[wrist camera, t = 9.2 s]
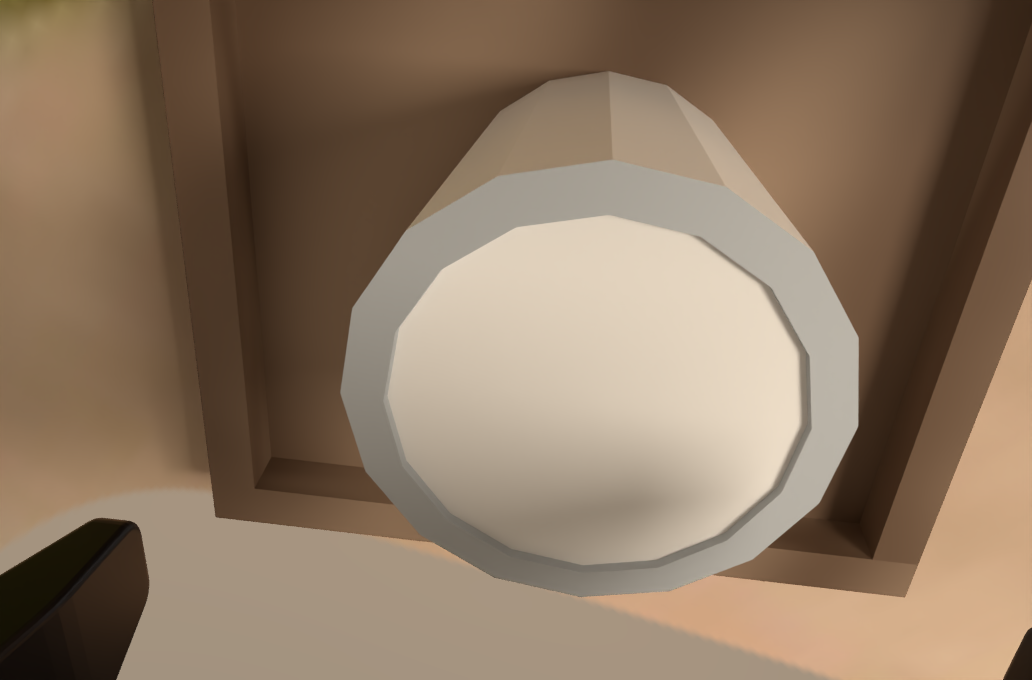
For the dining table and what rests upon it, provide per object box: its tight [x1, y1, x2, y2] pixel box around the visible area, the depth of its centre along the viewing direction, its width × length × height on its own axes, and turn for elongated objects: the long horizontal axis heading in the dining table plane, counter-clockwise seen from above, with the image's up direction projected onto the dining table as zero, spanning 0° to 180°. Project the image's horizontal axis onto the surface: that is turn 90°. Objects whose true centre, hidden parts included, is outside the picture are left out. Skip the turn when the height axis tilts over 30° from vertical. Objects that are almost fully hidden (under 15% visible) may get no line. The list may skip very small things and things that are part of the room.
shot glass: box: [340, 71, 859, 597], centre depth 15 cm, size 7×7×7 cm
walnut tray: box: [152, 0, 1032, 597], centre depth 18 cm, size 16×16×2 cm
